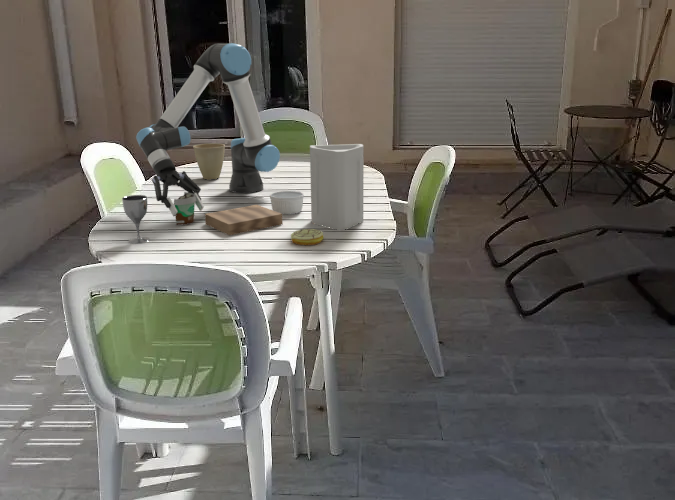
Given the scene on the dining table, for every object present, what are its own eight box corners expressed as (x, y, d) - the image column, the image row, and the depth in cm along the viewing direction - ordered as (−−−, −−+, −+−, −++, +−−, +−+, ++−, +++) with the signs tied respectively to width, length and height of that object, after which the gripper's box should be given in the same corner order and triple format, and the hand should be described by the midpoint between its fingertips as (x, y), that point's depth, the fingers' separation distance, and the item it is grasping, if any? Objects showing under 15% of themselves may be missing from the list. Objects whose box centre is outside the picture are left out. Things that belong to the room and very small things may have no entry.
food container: (191, 227, 245) (190, 200, 242) (174, 226, 246) (173, 199, 243) (201, 218, 257) (200, 192, 254) (185, 217, 258) (184, 191, 254)
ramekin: (289, 205, 274) (288, 188, 272) (311, 211, 265) (310, 193, 263) (263, 211, 266) (262, 194, 263) (285, 217, 257) (284, 199, 254)
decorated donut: (298, 236, 233) (298, 226, 232) (327, 239, 230) (327, 228, 229) (286, 245, 224) (286, 234, 223) (317, 248, 221) (316, 236, 220)
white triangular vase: (314, 231, 239) (312, 152, 230) (311, 220, 253) (309, 145, 244) (367, 229, 241) (368, 150, 232) (361, 218, 255) (362, 144, 246)
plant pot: (233, 177, 329) (231, 144, 324) (212, 182, 317) (210, 149, 312) (210, 174, 336) (208, 142, 331) (189, 179, 324) (186, 146, 320)
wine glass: (138, 245, 224) (133, 201, 220) (121, 241, 228) (116, 198, 224) (156, 239, 231) (151, 196, 226) (139, 236, 235) (135, 193, 230)
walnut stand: (257, 214, 261) (256, 204, 260) (282, 224, 247) (282, 213, 246) (205, 224, 248) (204, 213, 247) (229, 235, 235) (228, 224, 233)
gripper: (184, 166, 264) (210, 211, 258) (130, 174, 247) (157, 222, 242) (191, 154, 259) (218, 200, 253) (137, 161, 242) (165, 210, 237)
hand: (189, 211), depth 247 cm, fingers closed on food container, 11 cm apart
